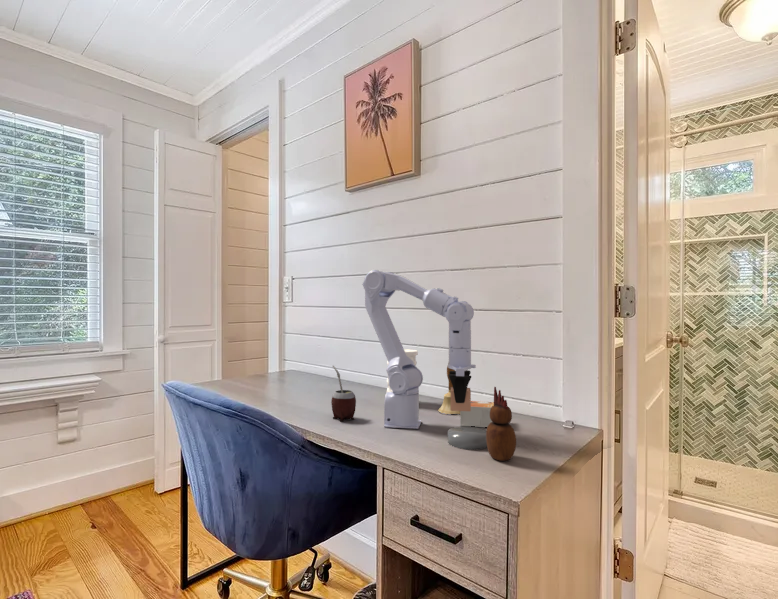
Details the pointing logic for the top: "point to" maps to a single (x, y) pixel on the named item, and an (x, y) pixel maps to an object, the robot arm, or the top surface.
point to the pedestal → (467, 437)
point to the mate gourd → (343, 403)
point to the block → (461, 406)
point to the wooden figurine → (500, 430)
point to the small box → (477, 414)
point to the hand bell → (448, 398)
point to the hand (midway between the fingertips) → (459, 400)
